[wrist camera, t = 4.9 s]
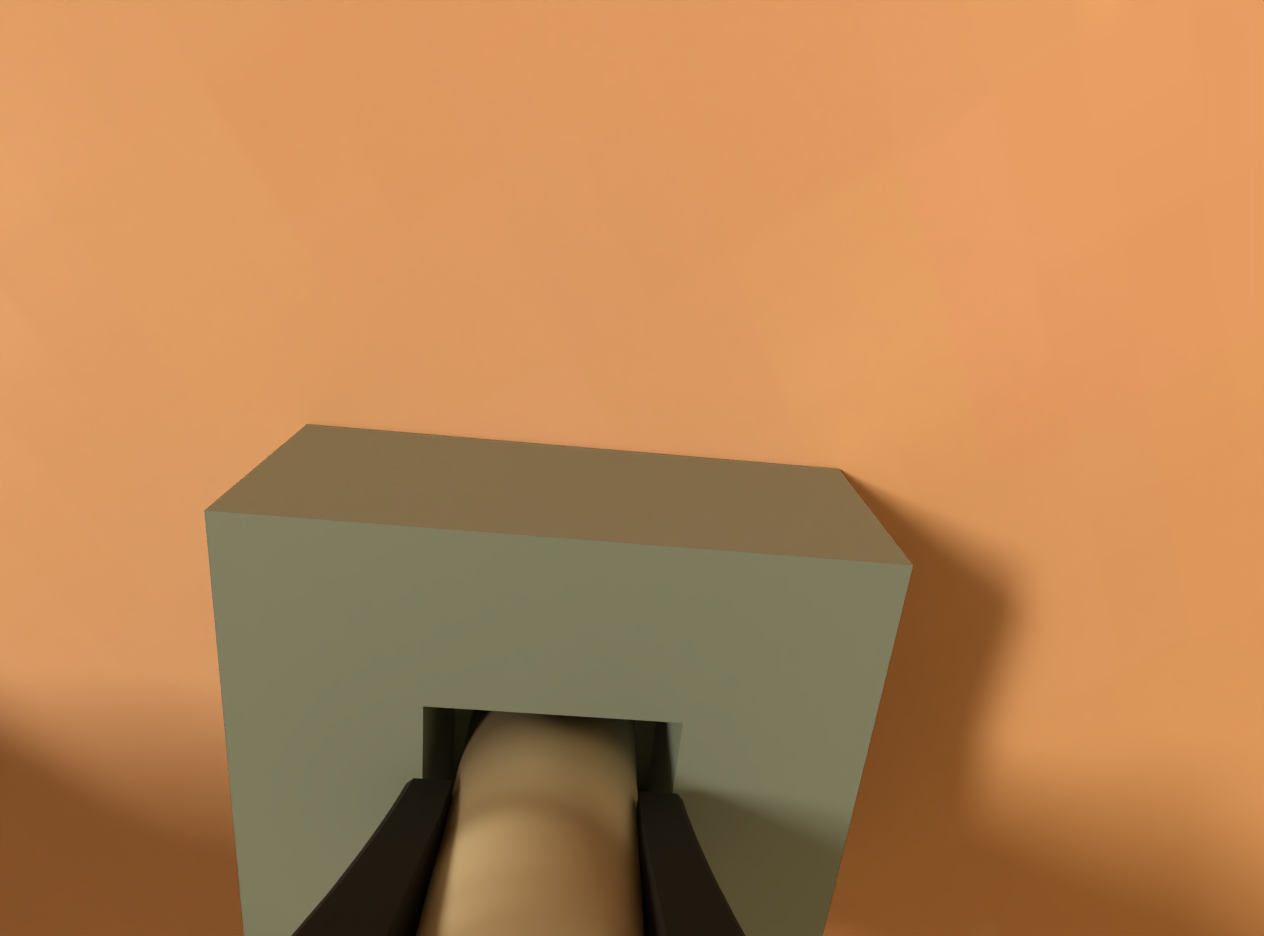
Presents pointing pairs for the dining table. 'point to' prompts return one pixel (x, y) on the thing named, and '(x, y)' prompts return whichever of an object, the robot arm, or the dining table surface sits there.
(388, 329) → the dining table surface
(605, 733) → the maple peg
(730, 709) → the socket block
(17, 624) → the dining table surface
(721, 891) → the robot arm
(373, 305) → the dining table surface
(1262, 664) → the dining table surface
